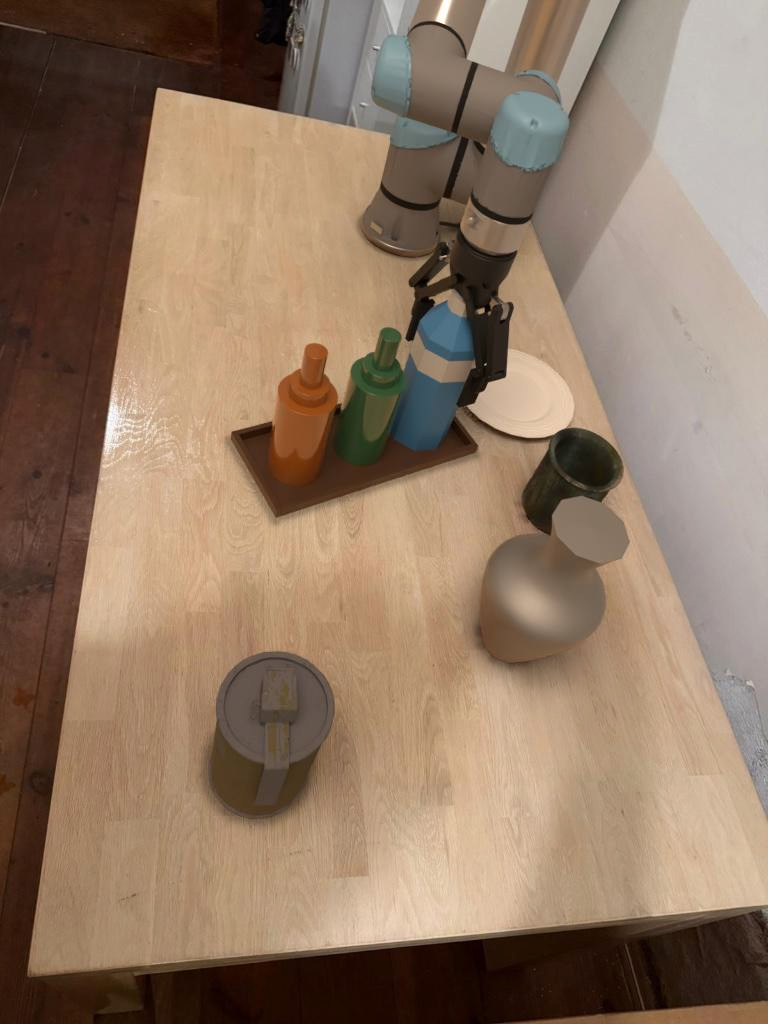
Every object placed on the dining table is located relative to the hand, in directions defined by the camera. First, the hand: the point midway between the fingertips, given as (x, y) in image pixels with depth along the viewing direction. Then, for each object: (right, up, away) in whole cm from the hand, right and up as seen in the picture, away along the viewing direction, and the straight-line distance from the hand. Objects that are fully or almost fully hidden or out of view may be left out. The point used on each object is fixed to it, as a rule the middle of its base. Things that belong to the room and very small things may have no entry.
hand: (438, 370), depth 104 cm
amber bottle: (-20, -13, 0) cm, 24 cm away
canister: (-21, -47, -25) cm, 58 cm away
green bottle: (-11, -10, +4) cm, 16 cm away
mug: (+17, -21, +5) cm, 28 cm away
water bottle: (-3, -7, +9) cm, 12 cm away
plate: (+13, -1, +19) cm, 24 cm away
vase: (+8, -36, -9) cm, 38 cm away
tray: (-12, -11, +5) cm, 16 cm away
